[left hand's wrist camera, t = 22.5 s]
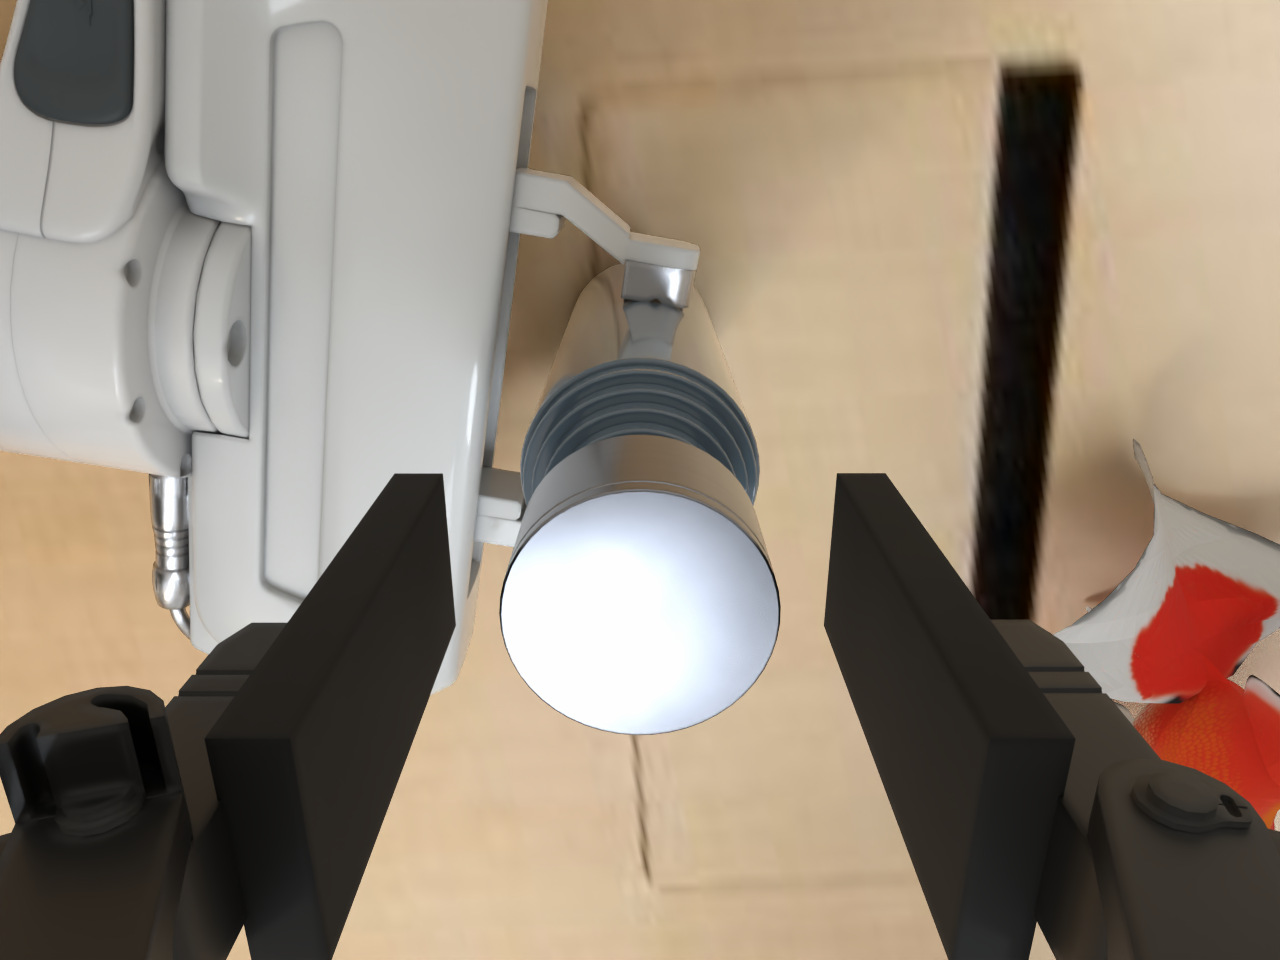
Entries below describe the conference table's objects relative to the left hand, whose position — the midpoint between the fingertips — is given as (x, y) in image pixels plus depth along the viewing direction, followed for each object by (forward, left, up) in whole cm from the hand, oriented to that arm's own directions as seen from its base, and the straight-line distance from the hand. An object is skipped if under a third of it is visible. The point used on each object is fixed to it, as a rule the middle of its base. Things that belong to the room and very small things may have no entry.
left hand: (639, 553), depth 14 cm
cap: (0, 0, +2) cm, 2 cm away
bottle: (0, 0, -17) cm, 17 cm away
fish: (-21, -1, -17) cm, 27 cm away
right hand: (-1, 0, -10) cm, 10 cm away
